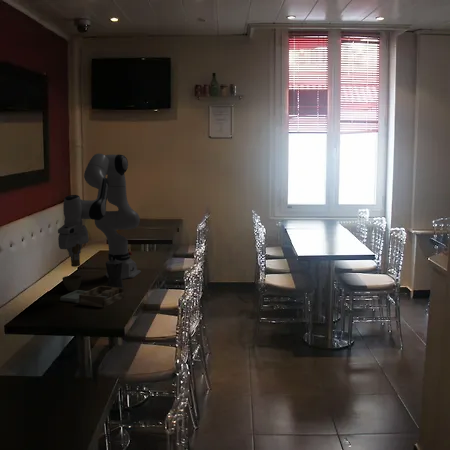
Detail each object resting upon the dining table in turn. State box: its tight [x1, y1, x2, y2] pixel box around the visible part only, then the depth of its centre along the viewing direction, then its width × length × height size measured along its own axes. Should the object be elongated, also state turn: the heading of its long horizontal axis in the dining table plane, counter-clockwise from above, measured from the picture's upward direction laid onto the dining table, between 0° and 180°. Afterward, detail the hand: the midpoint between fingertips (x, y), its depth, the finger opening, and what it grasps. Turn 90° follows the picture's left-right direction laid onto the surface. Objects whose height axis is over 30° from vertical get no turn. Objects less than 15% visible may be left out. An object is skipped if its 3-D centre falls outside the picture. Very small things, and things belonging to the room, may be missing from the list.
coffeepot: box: [105, 257, 125, 289], centre depth 300 cm, size 15×9×18 cm, turn 25°
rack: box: [78, 285, 125, 309], centre depth 278 cm, size 18×14×5 cm
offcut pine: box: [102, 290, 113, 298], centre depth 276 cm, size 4×4×6 cm
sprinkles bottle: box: [70, 240, 81, 268], centre depth 280 cm, size 5×5×14 cm
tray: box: [59, 289, 88, 304], centre depth 284 cm, size 14×10×2 cm
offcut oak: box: [110, 288, 119, 296], centre depth 282 cm, size 5×4×5 cm
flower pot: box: [62, 274, 83, 292], centre depth 299 cm, size 10×10×7 cm
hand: (74, 254), depth 281 cm, fingers closed on sprinkles bottle, 4 cm apart
